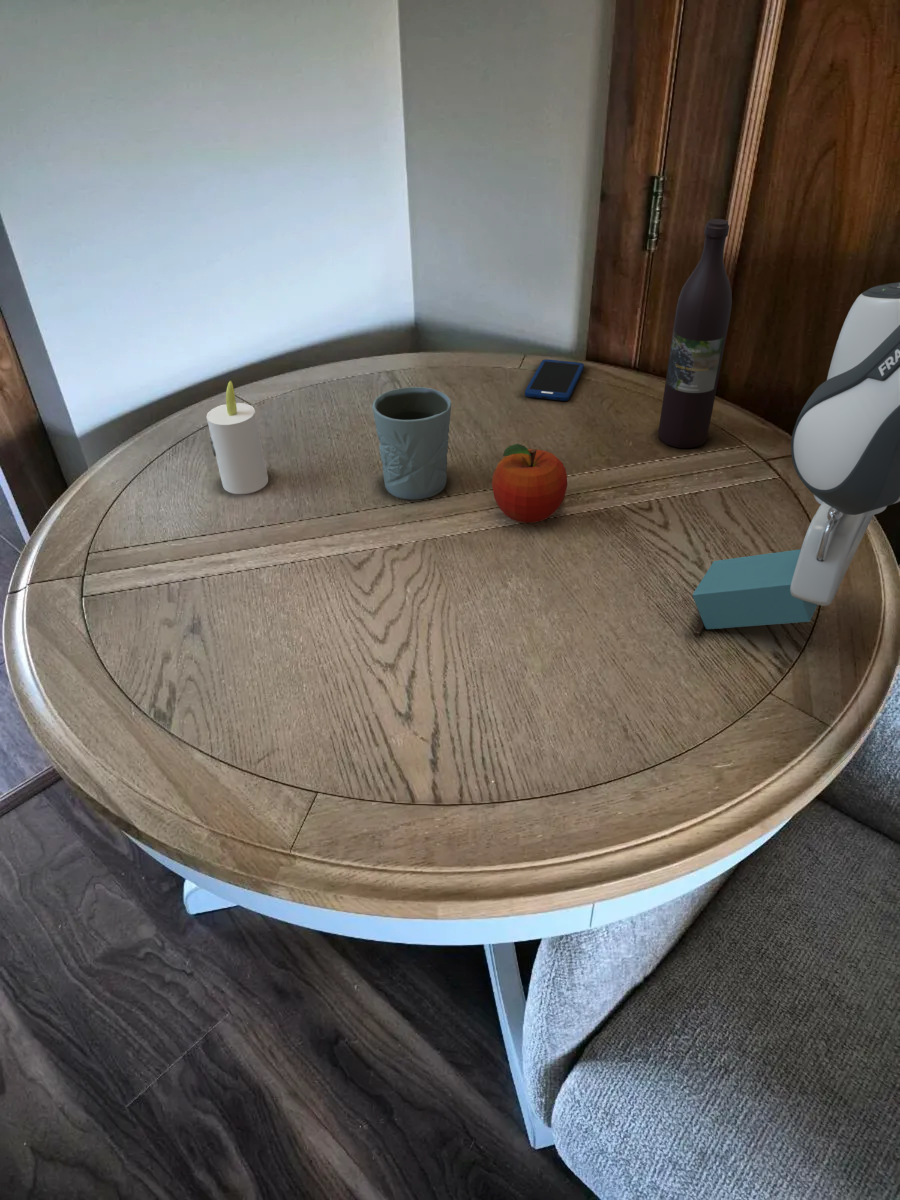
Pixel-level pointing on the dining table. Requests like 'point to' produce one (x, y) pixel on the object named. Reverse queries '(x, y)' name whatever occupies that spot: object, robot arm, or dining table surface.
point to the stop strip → (699, 628)
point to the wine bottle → (697, 345)
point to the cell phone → (554, 380)
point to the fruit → (529, 484)
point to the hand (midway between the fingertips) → (823, 589)
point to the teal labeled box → (751, 592)
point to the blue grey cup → (413, 440)
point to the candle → (237, 445)
